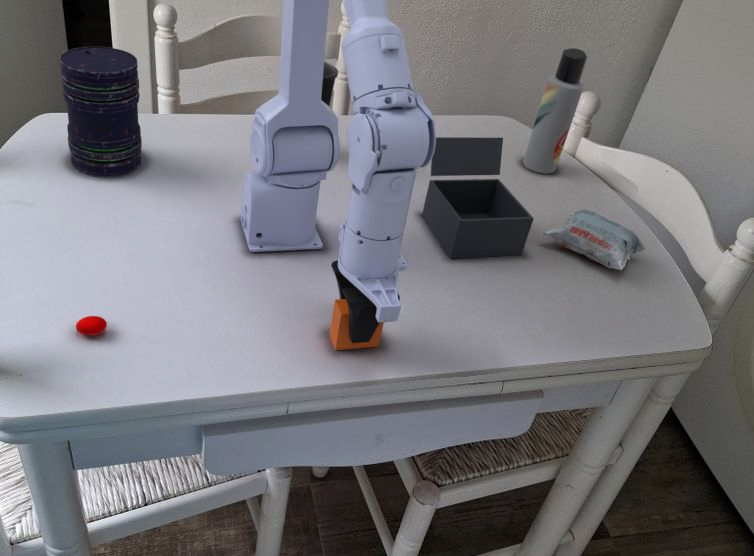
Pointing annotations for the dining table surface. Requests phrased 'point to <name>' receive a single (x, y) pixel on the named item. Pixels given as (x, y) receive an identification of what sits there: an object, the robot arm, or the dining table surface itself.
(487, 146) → the bin flap
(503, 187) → the bin
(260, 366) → the dining table surface
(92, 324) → the candy
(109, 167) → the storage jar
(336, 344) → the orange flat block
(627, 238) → the packaged food
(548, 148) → the lotion bottle
